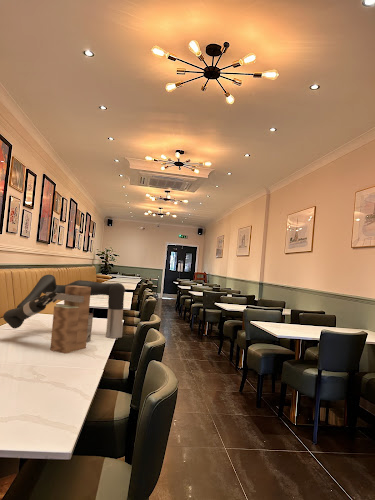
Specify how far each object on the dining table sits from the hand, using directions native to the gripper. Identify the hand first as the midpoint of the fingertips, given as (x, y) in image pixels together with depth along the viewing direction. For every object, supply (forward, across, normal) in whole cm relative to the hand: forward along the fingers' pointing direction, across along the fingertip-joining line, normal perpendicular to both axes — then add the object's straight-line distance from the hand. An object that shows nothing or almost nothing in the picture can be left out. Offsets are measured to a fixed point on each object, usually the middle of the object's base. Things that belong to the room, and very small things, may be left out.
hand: (57, 293), depth 184 cm
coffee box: (-15, +23, +24) cm, 37 cm away
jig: (-8, +4, +28) cm, 29 cm away
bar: (+2, 0, +5) cm, 5 cm away
